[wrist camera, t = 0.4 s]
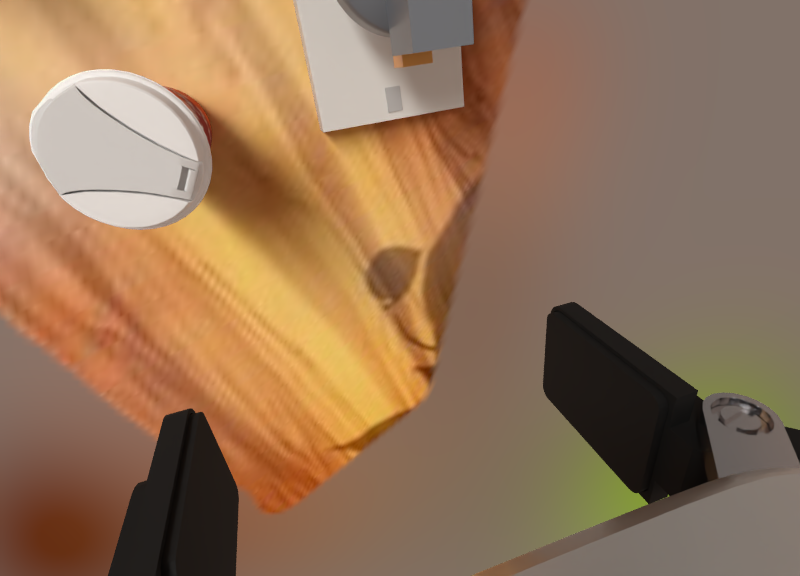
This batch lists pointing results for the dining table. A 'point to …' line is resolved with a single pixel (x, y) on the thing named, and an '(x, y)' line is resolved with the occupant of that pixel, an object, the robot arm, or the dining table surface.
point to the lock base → (369, 72)
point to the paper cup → (123, 148)
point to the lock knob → (415, 25)
